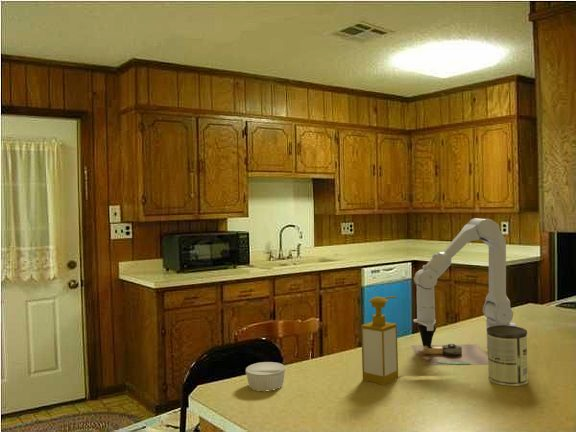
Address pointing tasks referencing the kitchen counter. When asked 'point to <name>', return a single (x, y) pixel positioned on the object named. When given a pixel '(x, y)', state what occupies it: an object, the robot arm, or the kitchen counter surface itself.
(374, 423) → the kitchen counter surface
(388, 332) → the soap bottle
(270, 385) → the ramekin
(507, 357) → the coffee can
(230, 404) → the kitchen counter surface
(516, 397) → the kitchen counter surface
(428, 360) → the brown flat square slab
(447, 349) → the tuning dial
